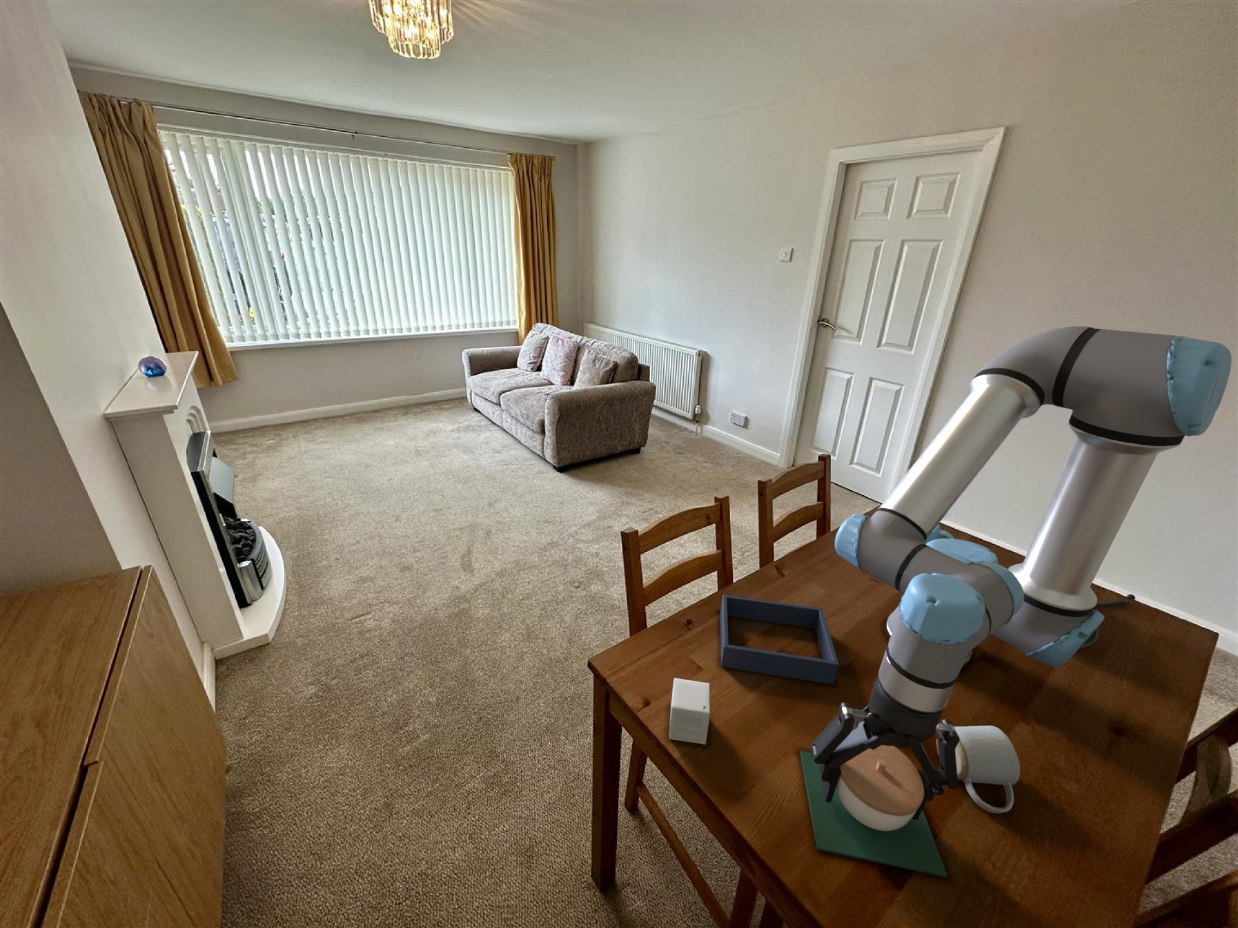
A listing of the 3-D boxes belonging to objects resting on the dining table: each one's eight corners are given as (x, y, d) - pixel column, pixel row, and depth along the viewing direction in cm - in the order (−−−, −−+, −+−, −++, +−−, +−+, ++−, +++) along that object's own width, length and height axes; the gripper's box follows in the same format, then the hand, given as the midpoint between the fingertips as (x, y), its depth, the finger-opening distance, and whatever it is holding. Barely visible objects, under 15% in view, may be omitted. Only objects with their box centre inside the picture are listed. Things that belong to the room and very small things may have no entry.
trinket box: (920, 856, 63) (942, 812, 60) (834, 836, 65) (850, 792, 61) (894, 777, 73) (911, 734, 69) (820, 762, 75) (833, 719, 71)
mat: (907, 772, 74) (908, 770, 74) (946, 877, 62) (947, 875, 62) (800, 752, 77) (800, 750, 77) (816, 849, 64) (817, 847, 64)
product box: (706, 713, 83) (710, 682, 80) (706, 746, 77) (710, 714, 74) (670, 707, 84) (673, 676, 81) (668, 739, 78) (671, 707, 75)
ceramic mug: (927, 746, 78) (941, 713, 75) (976, 747, 78) (993, 715, 75) (970, 816, 69) (988, 782, 66) (1026, 817, 69) (1048, 784, 66)
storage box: (817, 626, 103) (821, 608, 101) (833, 684, 89) (839, 664, 87) (720, 612, 107) (722, 594, 105) (721, 666, 92) (724, 646, 90)
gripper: (997, 680, 61) (944, 791, 70) (808, 651, 65) (780, 760, 74) (1032, 733, 55) (969, 848, 63) (818, 697, 58) (787, 811, 67)
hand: (868, 800), depth 69 cm, fingers closed on trinket box, 11 cm apart
